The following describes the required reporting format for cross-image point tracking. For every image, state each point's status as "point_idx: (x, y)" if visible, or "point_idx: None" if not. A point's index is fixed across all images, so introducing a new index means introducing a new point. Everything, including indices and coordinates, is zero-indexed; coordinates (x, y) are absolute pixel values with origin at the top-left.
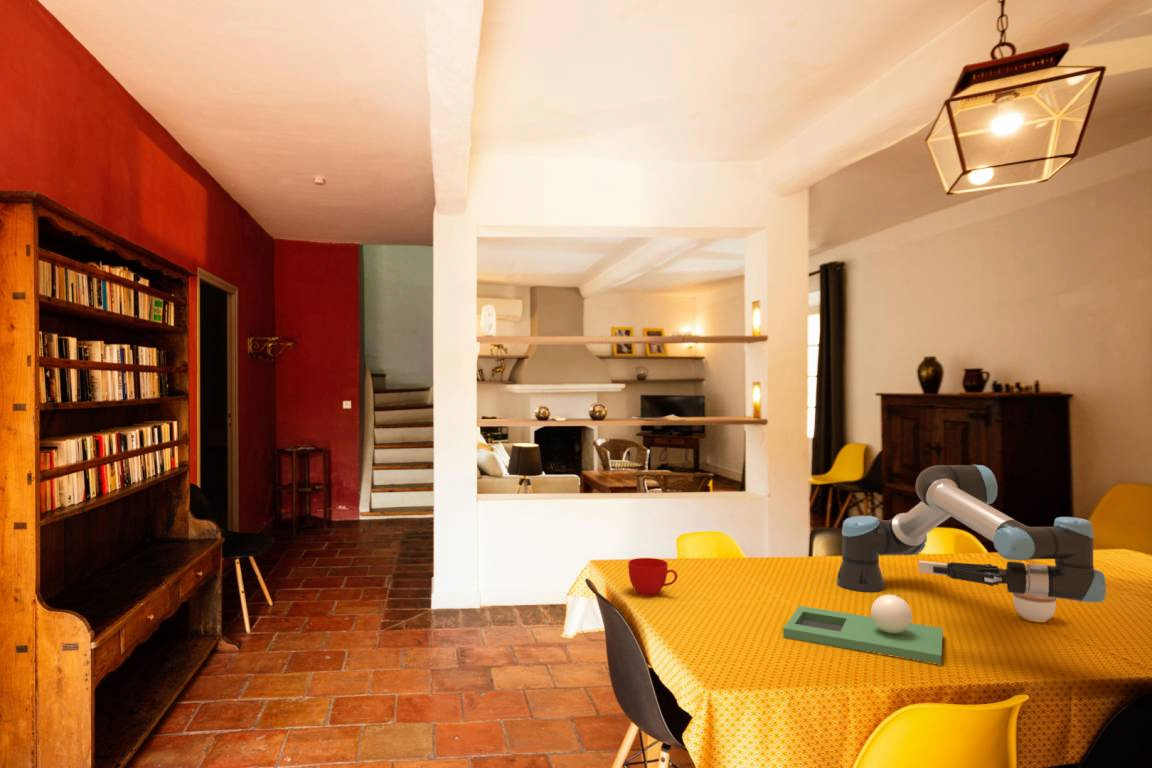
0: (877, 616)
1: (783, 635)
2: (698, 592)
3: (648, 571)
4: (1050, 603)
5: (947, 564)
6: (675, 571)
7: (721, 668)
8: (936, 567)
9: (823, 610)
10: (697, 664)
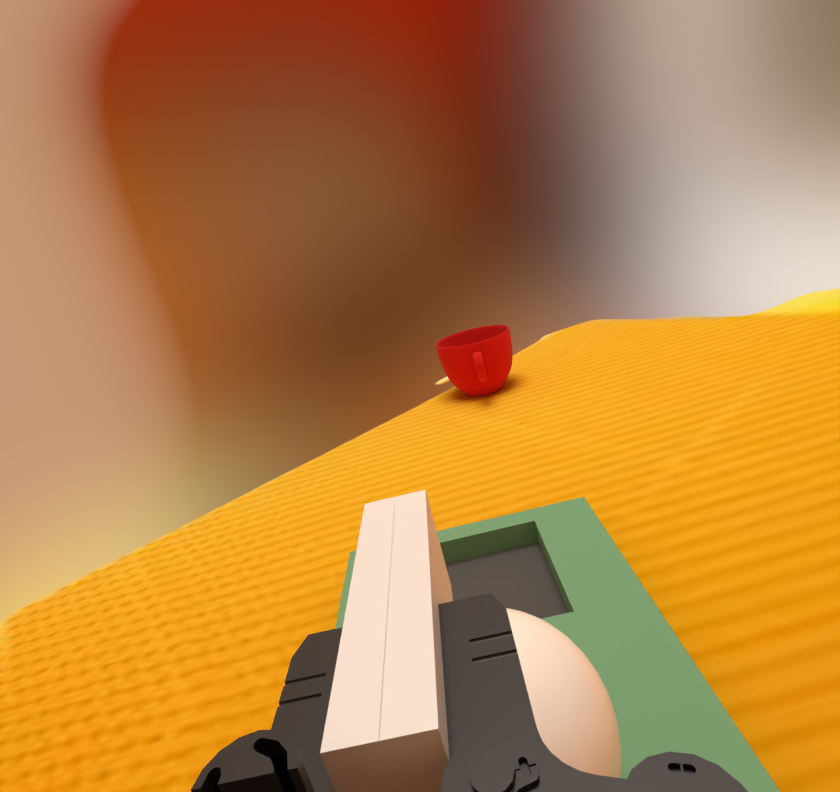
0: None
1: None
2: (555, 400)
3: (441, 353)
4: None
5: (250, 754)
6: (479, 356)
7: (119, 587)
8: (292, 668)
9: (600, 540)
10: (139, 558)
